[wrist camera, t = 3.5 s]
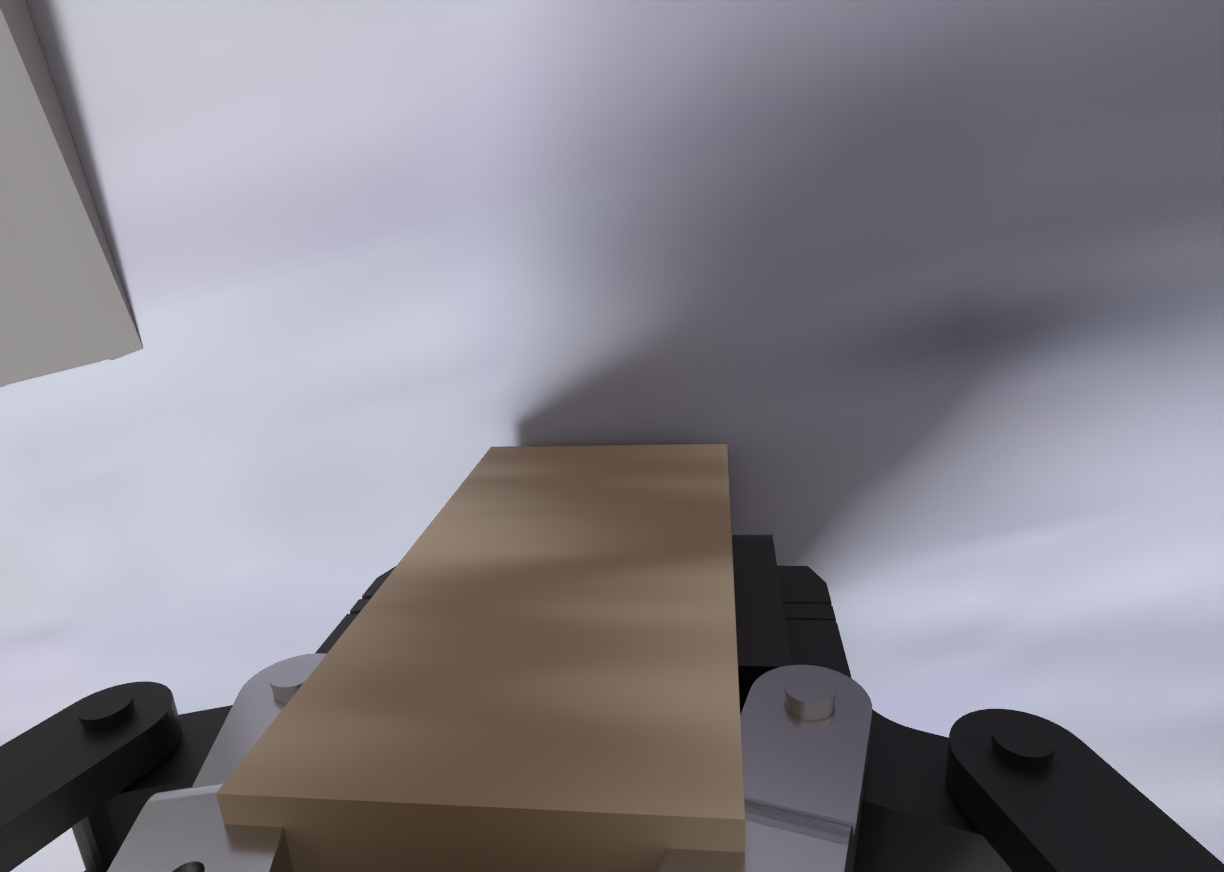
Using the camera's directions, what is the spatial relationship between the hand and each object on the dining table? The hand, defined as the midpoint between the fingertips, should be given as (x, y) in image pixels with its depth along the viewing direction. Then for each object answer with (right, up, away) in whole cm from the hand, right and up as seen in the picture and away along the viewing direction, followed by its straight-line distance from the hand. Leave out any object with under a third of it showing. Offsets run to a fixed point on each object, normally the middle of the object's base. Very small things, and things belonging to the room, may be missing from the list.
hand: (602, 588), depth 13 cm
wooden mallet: (0, -4, +3) cm, 5 cm away
